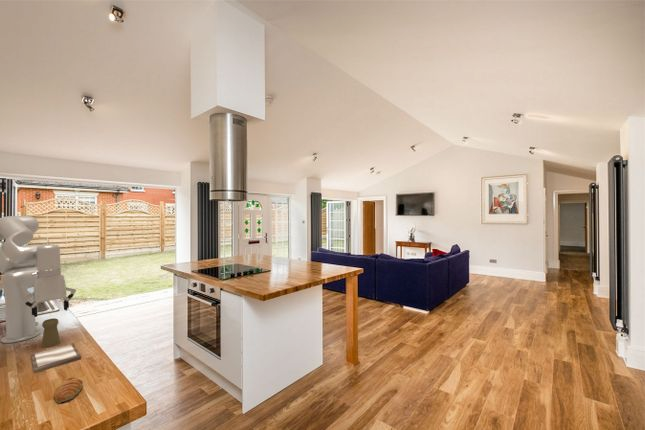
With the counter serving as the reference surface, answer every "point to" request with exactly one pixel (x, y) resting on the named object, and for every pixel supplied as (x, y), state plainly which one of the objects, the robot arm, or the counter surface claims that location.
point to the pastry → (68, 389)
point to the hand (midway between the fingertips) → (51, 313)
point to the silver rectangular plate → (54, 357)
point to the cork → (50, 333)
